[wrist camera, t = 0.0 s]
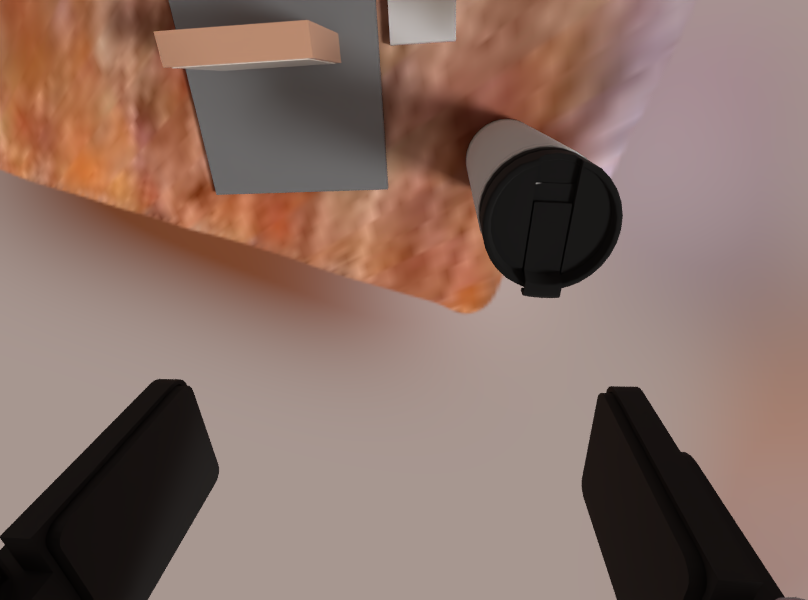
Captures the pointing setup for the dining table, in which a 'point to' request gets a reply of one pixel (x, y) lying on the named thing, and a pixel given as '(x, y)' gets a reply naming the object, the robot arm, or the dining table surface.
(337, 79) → the grey square plate
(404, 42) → the beige rectangular bar
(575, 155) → the travel mug
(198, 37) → the tile
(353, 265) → the dining table surface
